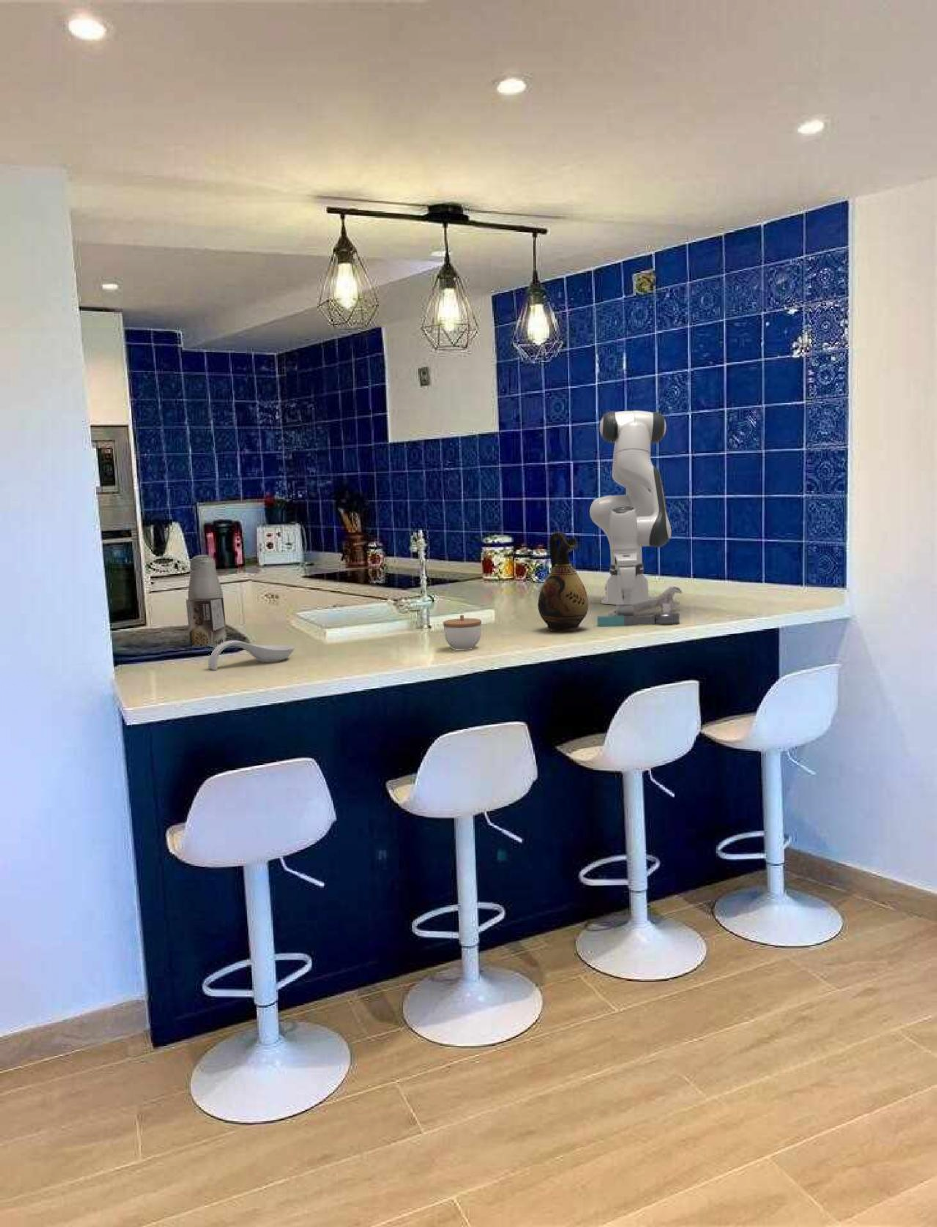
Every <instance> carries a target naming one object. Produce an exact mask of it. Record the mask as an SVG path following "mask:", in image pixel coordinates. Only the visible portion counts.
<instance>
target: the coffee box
mask: <svg viewBox="0 0 937 1227" xmlns="http://www.w3.org/2000/svg"><path fill="white" fill-rule="evenodd" d="M224 602H225V601H224V597H223V598H196V599H192V600H189V601H188V600H185V604H186V605H185V606H186V614H187V615H186V616H187V624H188V633H189V634H188V635H189V642H190V643H189V644H190V646H191V645H196V646H197V645H198V646H210V647H213V648H216V647H217V646H218V645H220V644H221V643H224V642H226V641H228V637H227V625H226V615H225V605H224Z"/></svg>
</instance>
